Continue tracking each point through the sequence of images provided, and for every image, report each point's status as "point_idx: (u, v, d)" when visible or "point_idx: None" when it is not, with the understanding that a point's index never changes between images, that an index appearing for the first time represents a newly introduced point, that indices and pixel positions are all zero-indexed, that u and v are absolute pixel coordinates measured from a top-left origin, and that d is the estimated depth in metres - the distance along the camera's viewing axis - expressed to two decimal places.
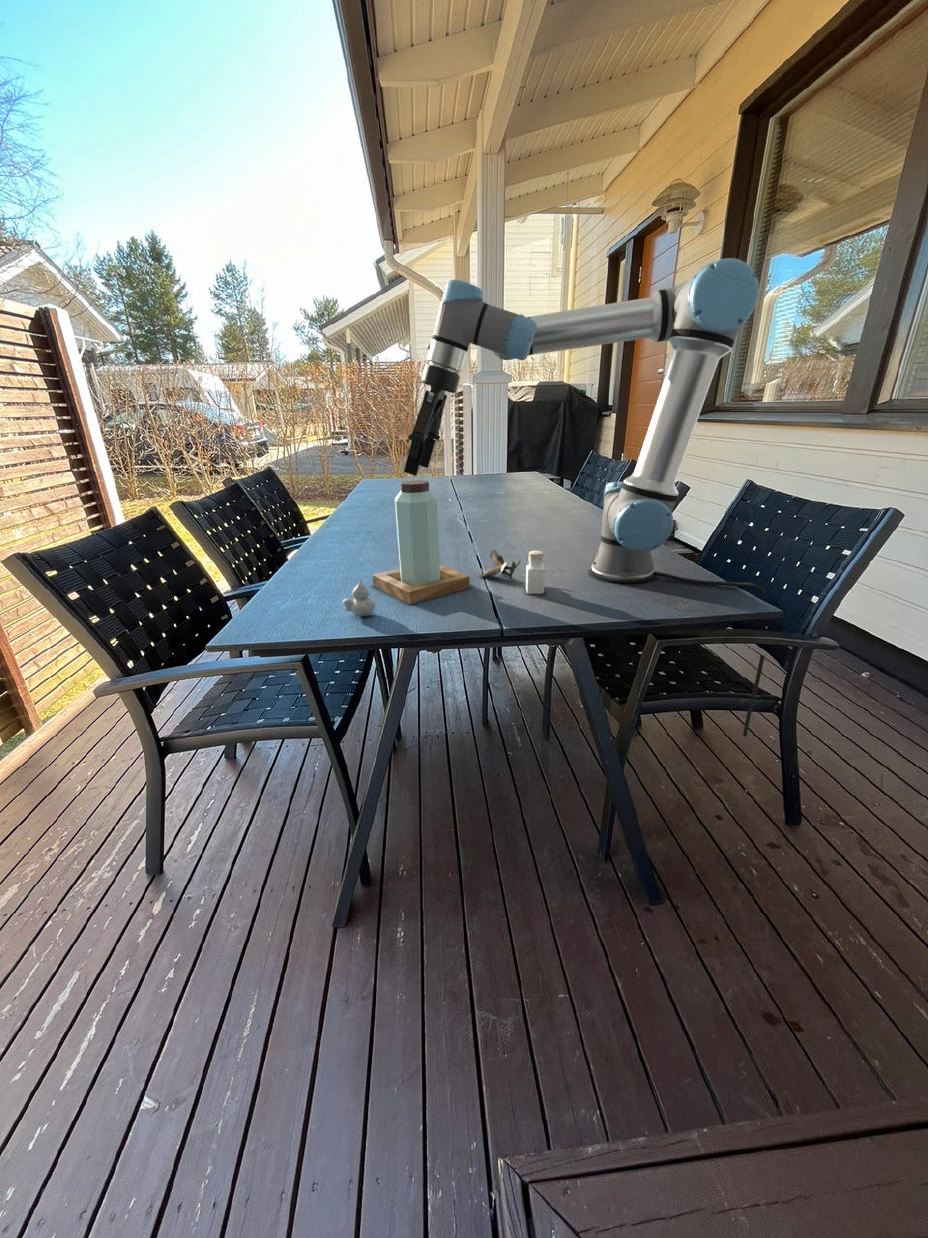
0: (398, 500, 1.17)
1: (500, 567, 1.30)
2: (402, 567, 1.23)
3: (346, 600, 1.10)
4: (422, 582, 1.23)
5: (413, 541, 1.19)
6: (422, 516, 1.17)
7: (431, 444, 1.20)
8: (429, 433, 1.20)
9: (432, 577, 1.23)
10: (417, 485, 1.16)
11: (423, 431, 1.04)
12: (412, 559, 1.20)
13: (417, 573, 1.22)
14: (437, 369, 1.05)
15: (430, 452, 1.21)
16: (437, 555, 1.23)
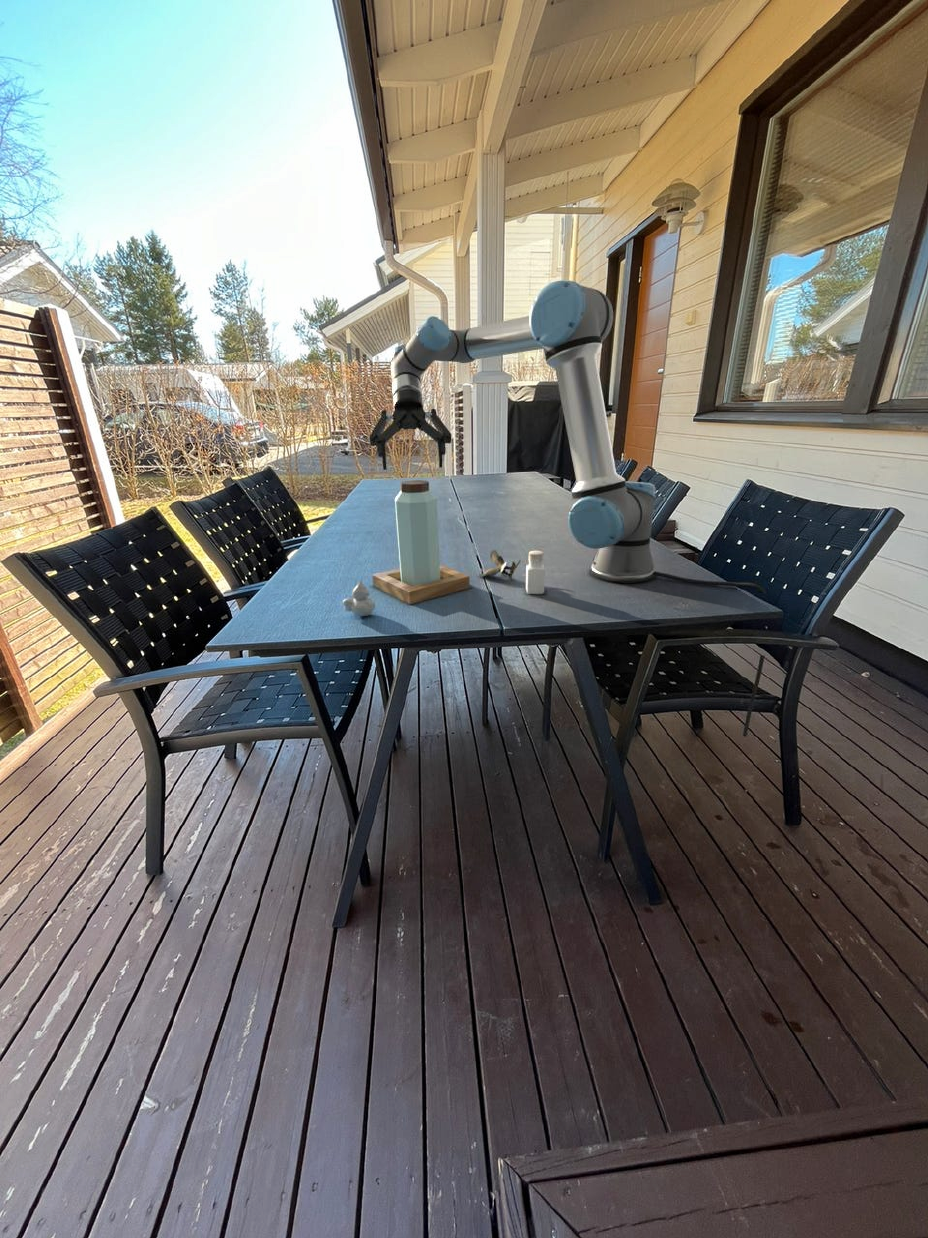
0: (398, 500, 1.17)
1: (500, 567, 1.30)
2: (402, 567, 1.23)
3: (346, 600, 1.10)
4: (422, 582, 1.23)
5: (413, 541, 1.19)
6: (422, 516, 1.17)
7: (437, 444, 1.29)
8: None
9: (432, 577, 1.23)
10: (417, 485, 1.16)
11: None
12: (412, 559, 1.20)
13: (417, 573, 1.22)
14: None
15: (438, 449, 1.28)
16: (437, 555, 1.23)
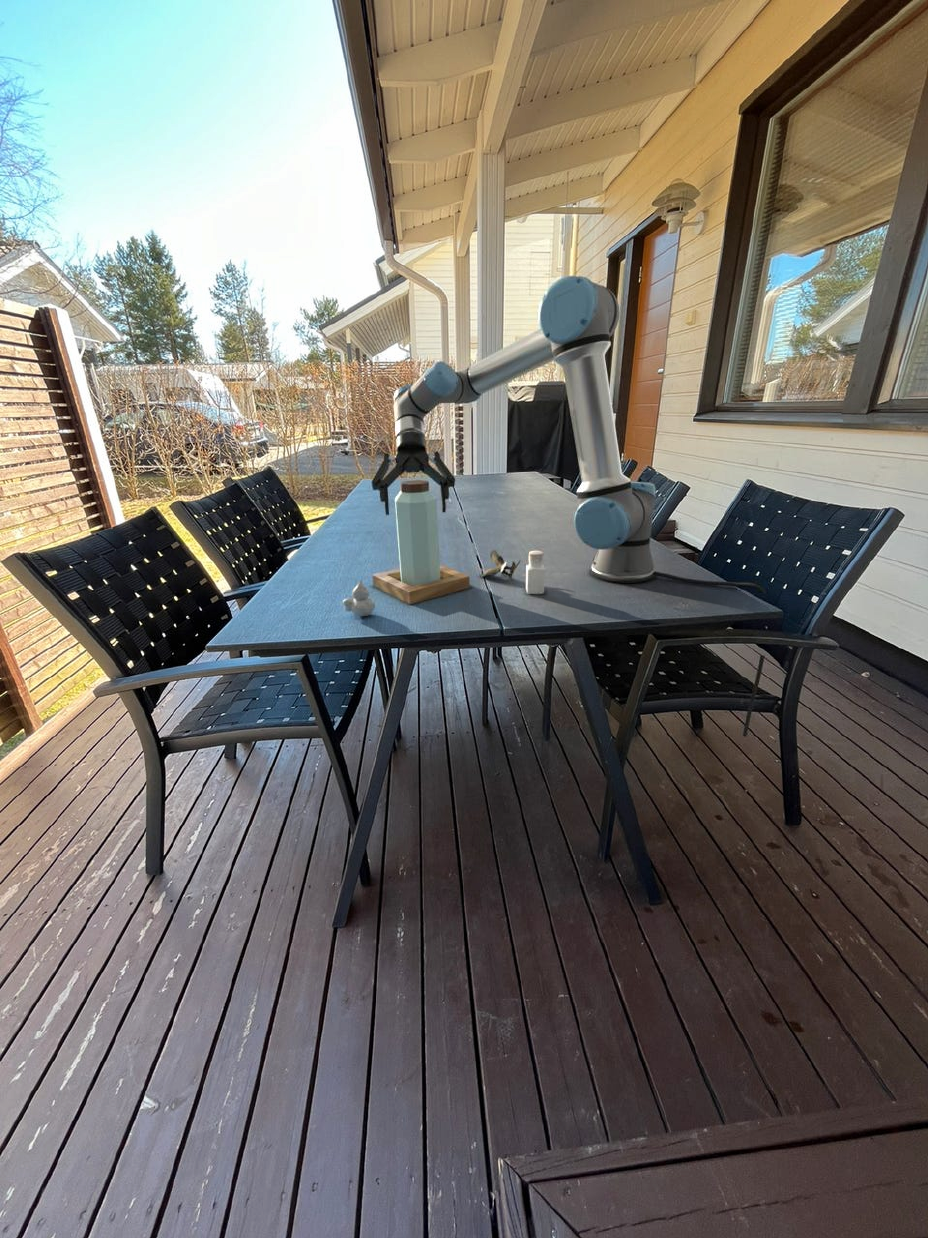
0: (398, 500, 1.17)
1: (500, 567, 1.30)
2: (402, 567, 1.23)
3: (346, 600, 1.10)
4: (422, 582, 1.23)
5: (413, 541, 1.19)
6: (422, 516, 1.17)
7: (440, 489, 1.27)
8: None
9: (432, 577, 1.23)
10: (417, 485, 1.16)
11: None
12: (412, 559, 1.20)
13: (417, 573, 1.22)
14: None
15: (441, 494, 1.26)
16: (437, 555, 1.23)
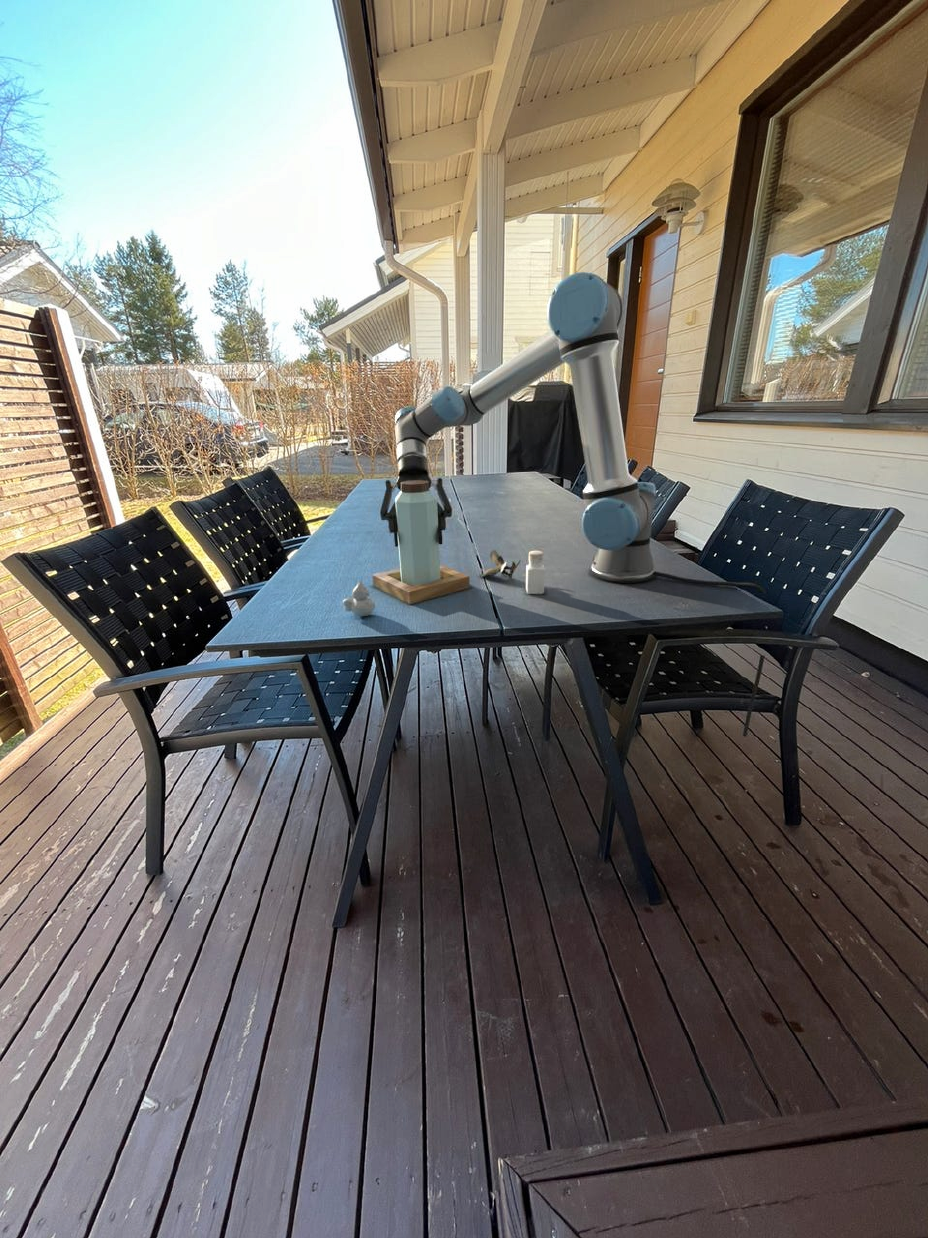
0: (398, 500, 1.17)
1: (500, 567, 1.30)
2: (402, 567, 1.23)
3: (346, 600, 1.10)
4: (422, 582, 1.23)
5: (413, 541, 1.19)
6: (422, 516, 1.17)
7: None
8: None
9: (432, 577, 1.23)
10: (417, 485, 1.16)
11: (381, 508, 1.23)
12: (412, 559, 1.20)
13: (417, 573, 1.22)
14: None
15: None
16: (437, 555, 1.23)
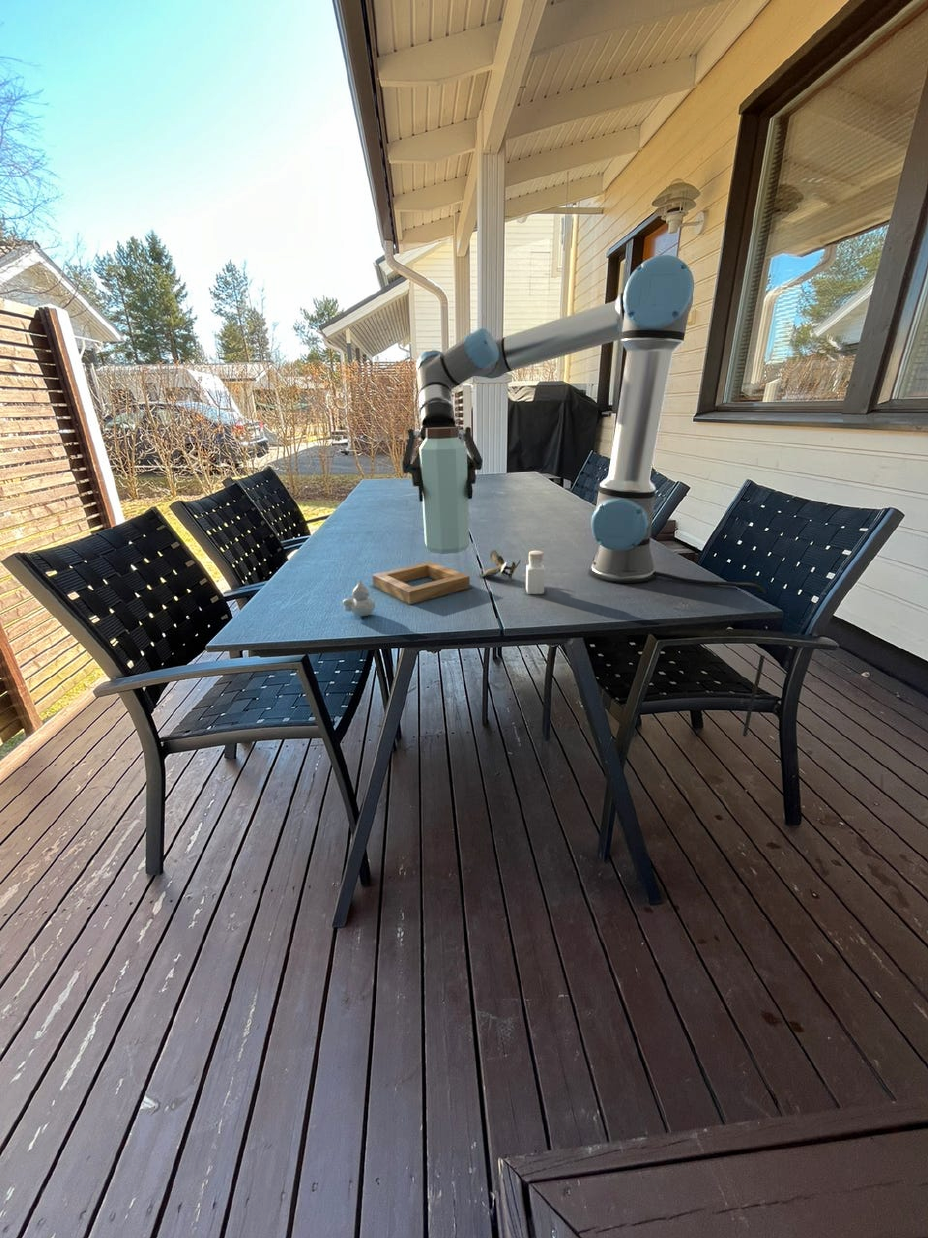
0: (423, 447, 1.04)
1: (500, 567, 1.30)
2: (427, 525, 1.10)
3: (346, 600, 1.10)
4: (449, 542, 1.10)
5: (440, 494, 1.06)
6: (450, 465, 1.04)
7: None
8: None
9: (460, 536, 1.10)
10: (445, 430, 1.03)
11: None
12: (439, 515, 1.07)
13: (444, 531, 1.09)
14: None
15: (467, 477, 1.08)
16: (466, 512, 1.10)
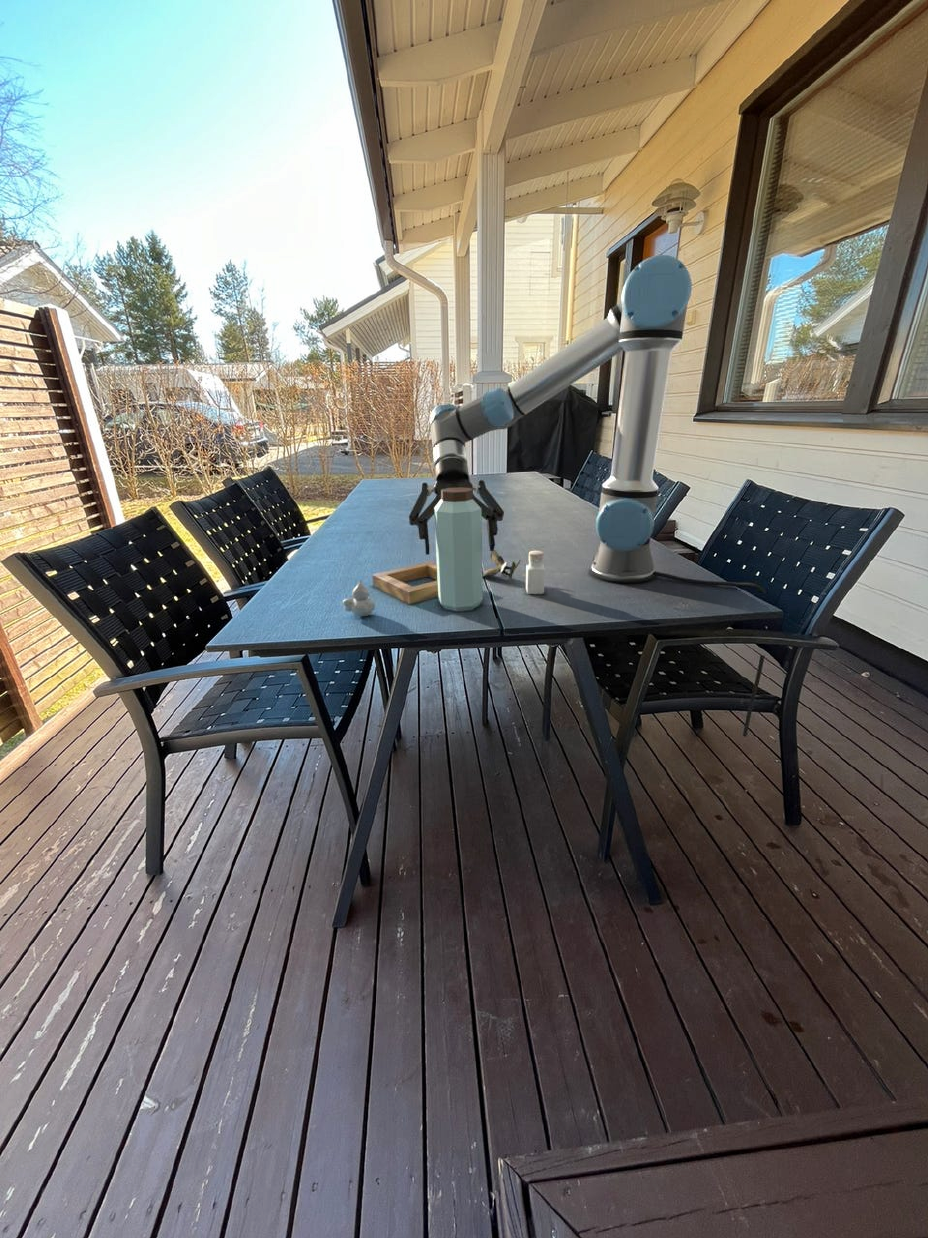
0: (439, 510, 1.05)
1: (500, 567, 1.30)
2: (441, 583, 1.11)
3: (346, 600, 1.10)
4: (463, 600, 1.11)
5: (455, 555, 1.07)
6: (465, 528, 1.05)
7: (488, 524, 1.11)
8: None
9: (474, 594, 1.12)
10: (461, 493, 1.04)
11: None
12: (453, 575, 1.09)
13: (459, 590, 1.10)
14: None
15: (489, 530, 1.10)
16: (480, 570, 1.12)
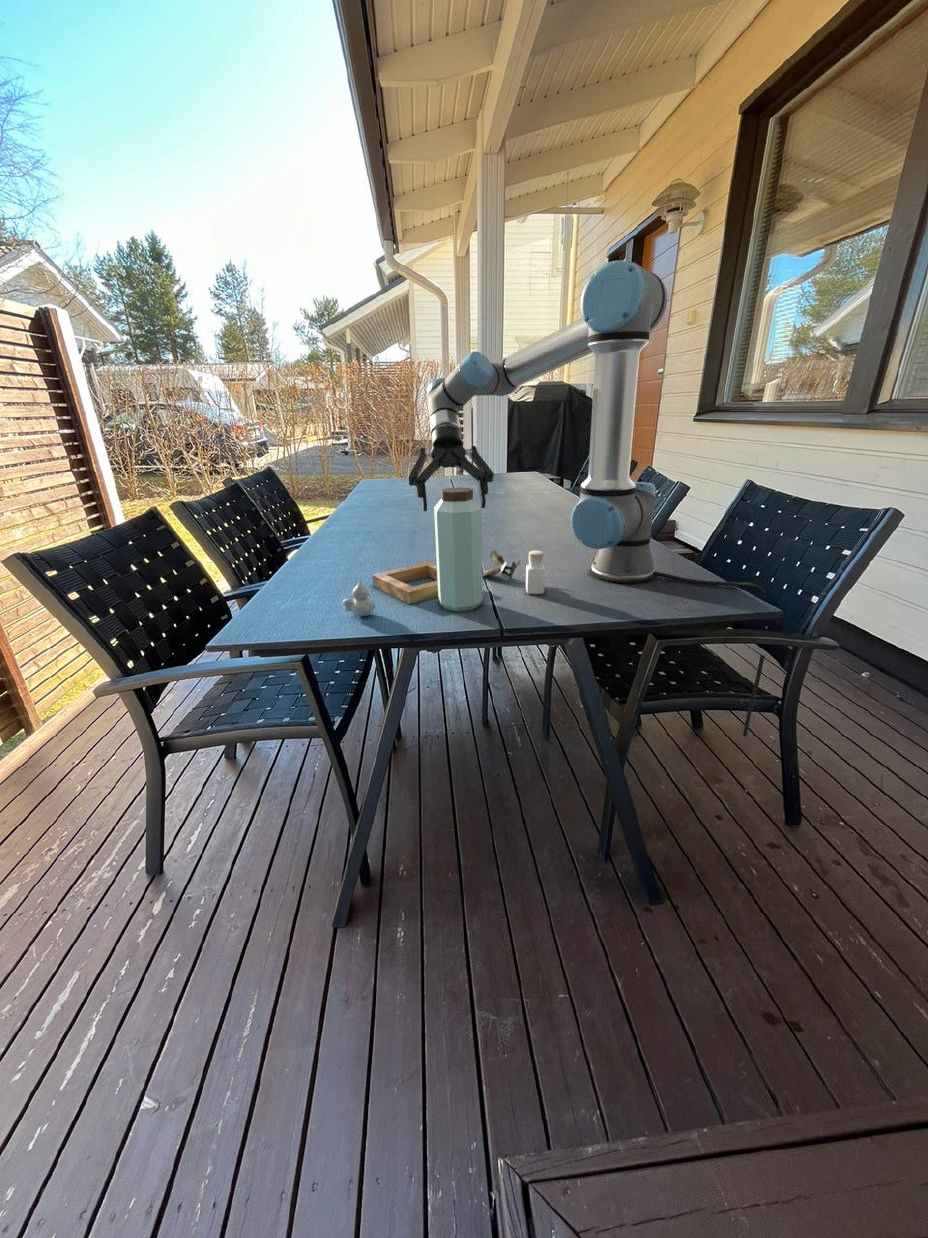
0: (439, 510, 1.05)
1: (500, 567, 1.30)
2: (441, 583, 1.11)
3: (346, 600, 1.10)
4: (463, 600, 1.11)
5: (455, 555, 1.07)
6: (465, 528, 1.05)
7: (479, 484, 1.24)
8: None
9: (474, 594, 1.12)
10: (461, 493, 1.04)
11: None
12: (453, 575, 1.09)
13: (459, 590, 1.10)
14: None
15: (480, 489, 1.23)
16: (480, 570, 1.11)
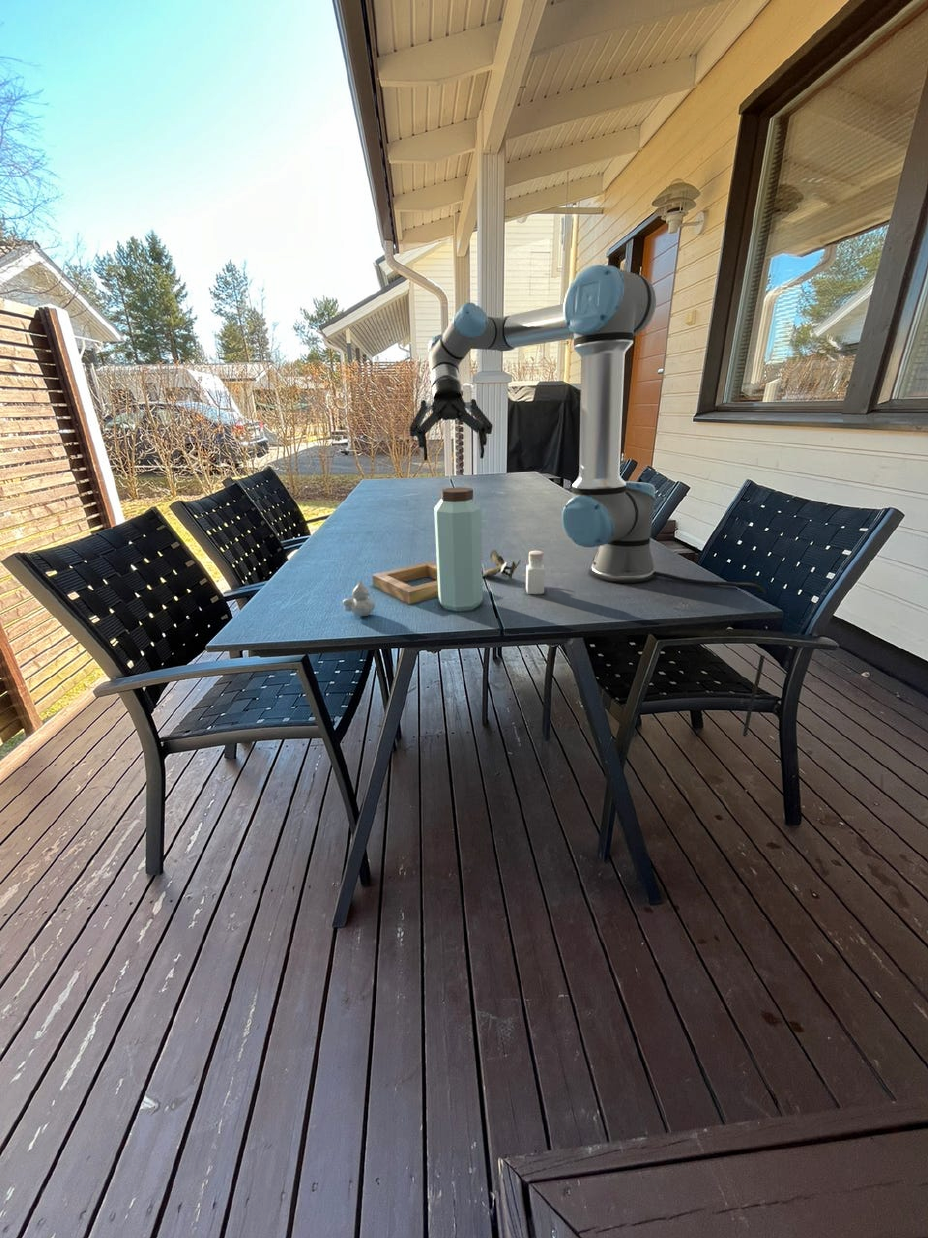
0: (439, 510, 1.05)
1: (500, 567, 1.30)
2: (441, 583, 1.11)
3: (346, 600, 1.10)
4: (463, 600, 1.11)
5: (455, 555, 1.07)
6: (466, 528, 1.05)
7: (478, 435, 1.27)
8: None
9: (474, 594, 1.12)
10: (461, 493, 1.04)
11: None
12: (453, 575, 1.09)
13: (459, 590, 1.10)
14: None
15: (479, 439, 1.26)
16: (480, 570, 1.11)
